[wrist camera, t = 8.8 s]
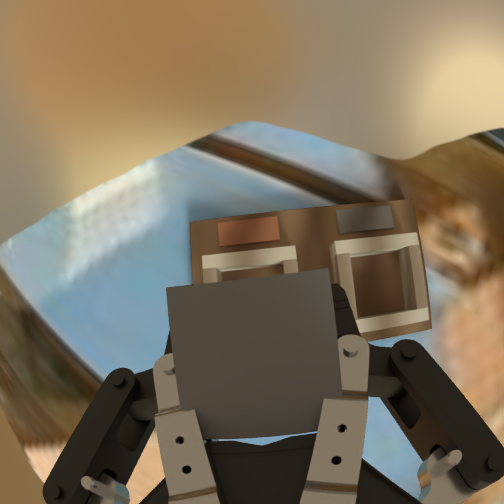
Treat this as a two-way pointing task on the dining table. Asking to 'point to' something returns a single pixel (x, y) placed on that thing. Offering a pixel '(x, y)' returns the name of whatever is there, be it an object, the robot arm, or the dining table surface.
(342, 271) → the socket board
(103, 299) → the dining table surface
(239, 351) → the plug
